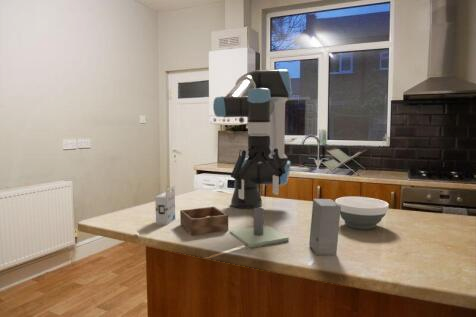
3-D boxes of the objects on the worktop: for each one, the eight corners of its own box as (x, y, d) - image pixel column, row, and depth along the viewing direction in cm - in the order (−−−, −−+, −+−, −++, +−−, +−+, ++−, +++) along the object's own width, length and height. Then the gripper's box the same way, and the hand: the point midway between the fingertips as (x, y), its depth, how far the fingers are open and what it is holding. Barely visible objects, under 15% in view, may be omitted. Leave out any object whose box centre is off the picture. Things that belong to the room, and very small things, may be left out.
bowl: (332, 230, 125) (333, 205, 124) (336, 216, 143) (336, 195, 142) (389, 236, 118) (390, 210, 117) (385, 221, 136) (386, 198, 135)
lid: (265, 227, 126) (266, 202, 125) (288, 240, 113) (289, 211, 112) (230, 233, 120) (229, 206, 119) (249, 247, 107) (249, 216, 105)
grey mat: (265, 228, 126) (265, 227, 126) (288, 241, 113) (288, 240, 113) (229, 234, 120) (229, 233, 120) (249, 248, 107) (249, 247, 106)
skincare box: (308, 245, 109) (309, 198, 107) (329, 245, 110) (331, 197, 108) (317, 256, 101) (318, 204, 99) (339, 255, 101) (341, 204, 100)
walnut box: (214, 222, 135) (214, 206, 134) (228, 232, 122) (228, 215, 122) (180, 226, 129) (180, 210, 128) (191, 237, 116) (191, 219, 116)
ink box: (164, 220, 138) (163, 184, 137) (175, 220, 137) (175, 185, 136) (155, 226, 130) (154, 188, 128) (167, 227, 129) (166, 189, 127)
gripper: (283, 133, 121) (283, 190, 124) (220, 135, 111) (221, 197, 114) (295, 134, 115) (294, 194, 118) (230, 136, 104) (230, 203, 107)
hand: (258, 196), depth 116 cm, fingers open, 13 cm apart
